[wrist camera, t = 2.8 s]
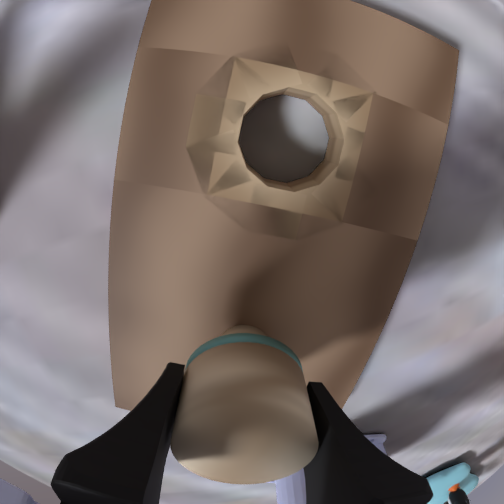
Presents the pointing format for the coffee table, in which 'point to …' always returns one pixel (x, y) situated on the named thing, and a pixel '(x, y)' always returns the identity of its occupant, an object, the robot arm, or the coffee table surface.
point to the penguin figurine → (452, 485)
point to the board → (270, 184)
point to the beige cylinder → (244, 410)
